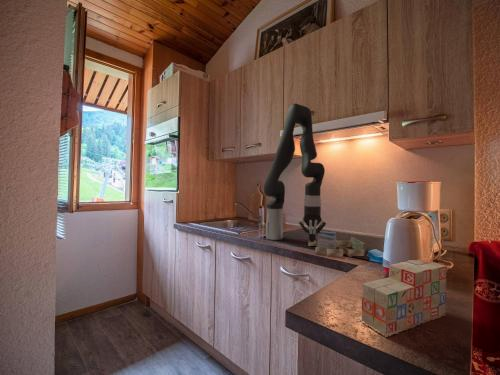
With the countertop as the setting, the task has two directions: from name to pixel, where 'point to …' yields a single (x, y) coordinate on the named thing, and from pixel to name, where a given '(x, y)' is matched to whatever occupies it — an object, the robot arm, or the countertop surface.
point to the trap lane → (342, 248)
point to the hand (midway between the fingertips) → (311, 241)
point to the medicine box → (327, 239)
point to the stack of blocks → (405, 295)
